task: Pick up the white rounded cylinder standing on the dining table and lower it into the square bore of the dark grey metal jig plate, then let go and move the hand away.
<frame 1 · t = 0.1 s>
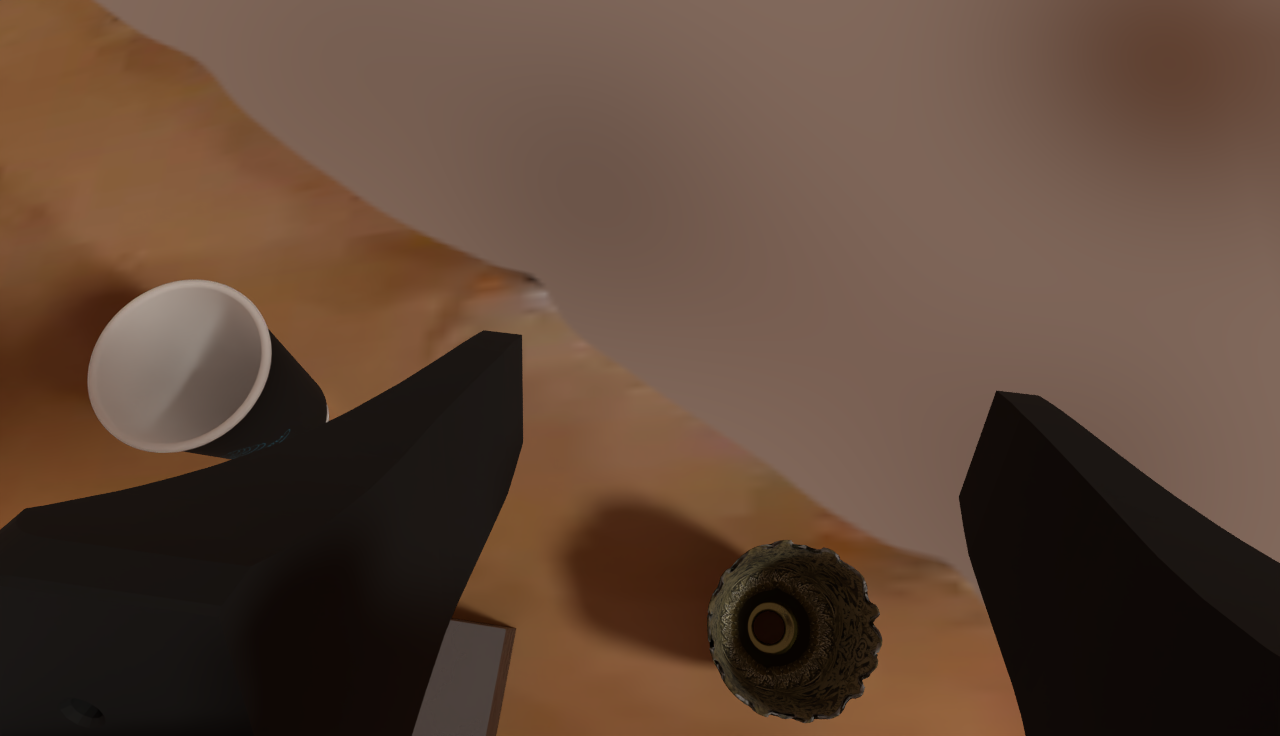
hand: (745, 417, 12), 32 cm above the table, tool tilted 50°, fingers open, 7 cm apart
cup: (768, 627, 42), on the table
dixie cup: (288, 422, 46), on the table
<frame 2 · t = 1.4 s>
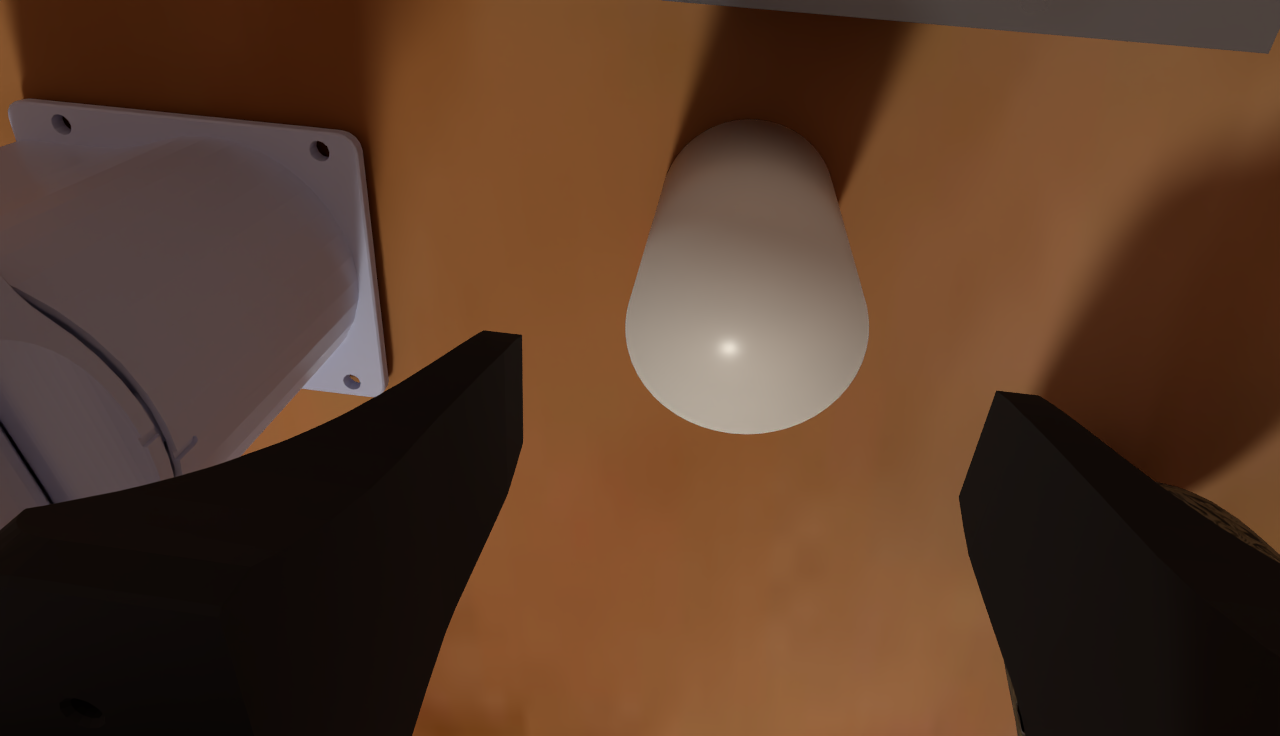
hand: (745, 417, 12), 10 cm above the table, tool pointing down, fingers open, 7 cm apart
white rounded cylinder: (746, 206, 21), on the table
cup: (1075, 496, 24), on the table
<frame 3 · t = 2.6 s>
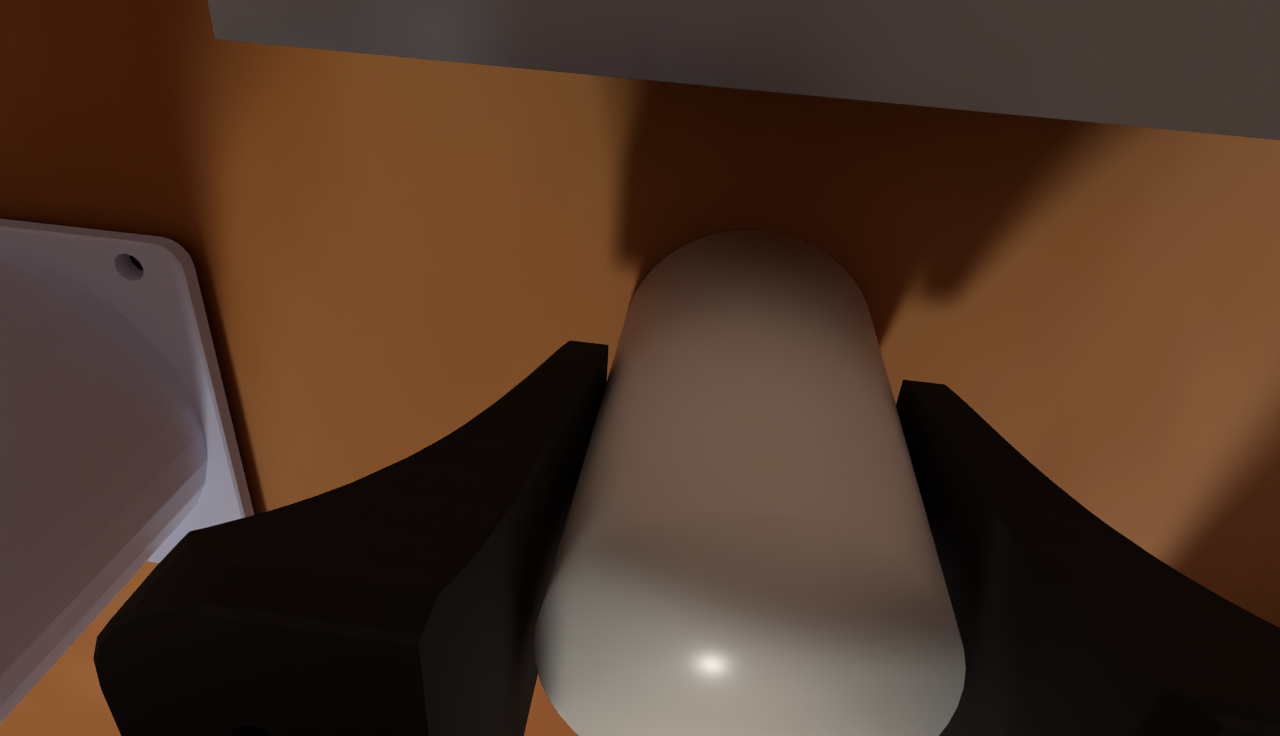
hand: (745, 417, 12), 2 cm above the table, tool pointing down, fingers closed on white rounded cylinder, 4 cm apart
white rounded cylinder: (745, 346, 14), on the table, touching gripper
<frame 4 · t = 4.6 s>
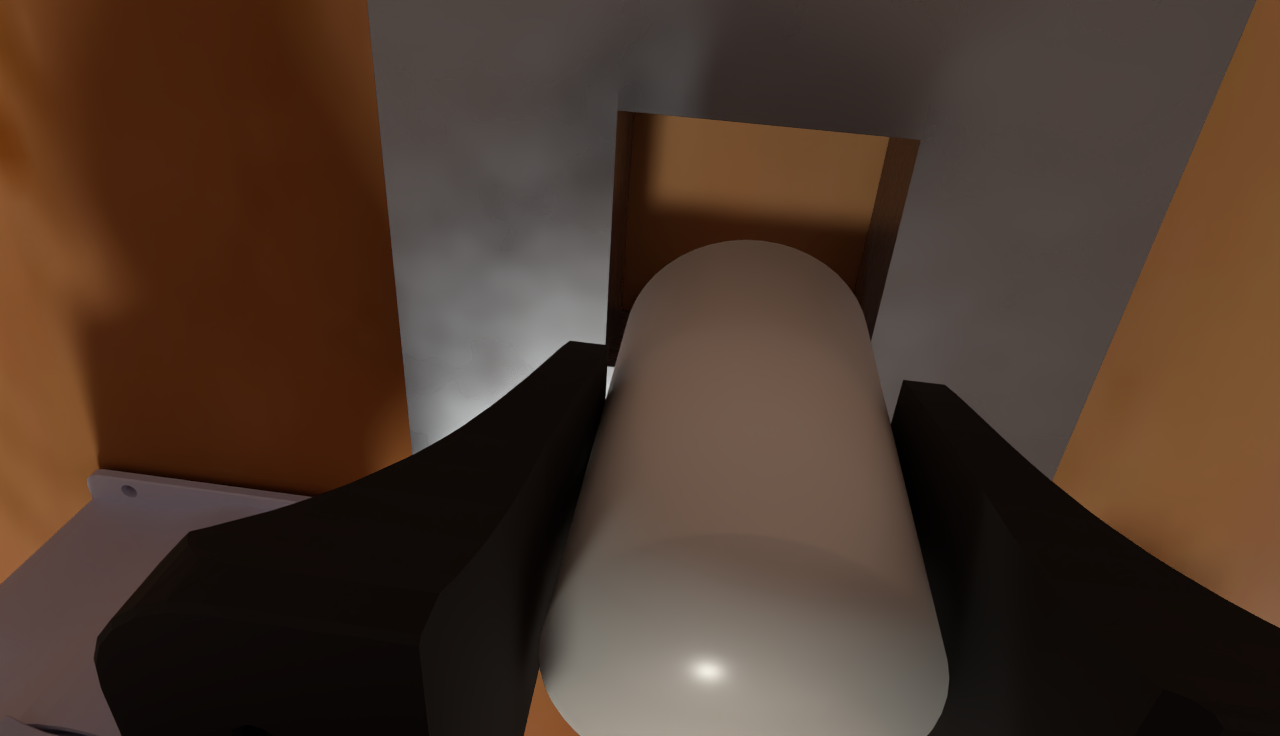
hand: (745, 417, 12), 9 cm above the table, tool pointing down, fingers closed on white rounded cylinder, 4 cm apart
white rounded cylinder: (744, 352, 15), point 6 cm above the table, touching gripper
jig: (747, 216, 20), on the table
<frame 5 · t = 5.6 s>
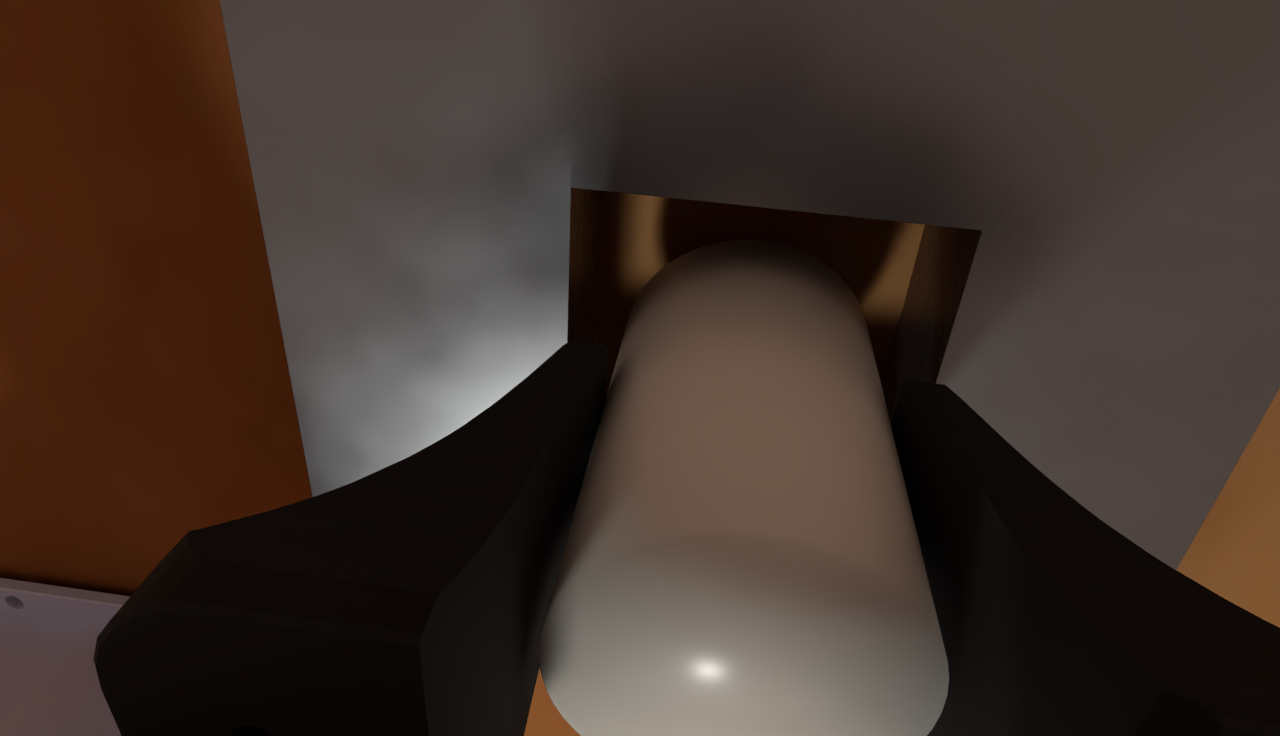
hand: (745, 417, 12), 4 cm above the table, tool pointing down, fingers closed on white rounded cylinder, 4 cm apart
white rounded cylinder: (744, 352, 15), point 2 cm above the table, touching gripper
jig: (746, 302, 16), on the table
when the fingers open (4 cm above the table, at t = 6.5 s): white rounded cylinder drops 1 cm, resting in jig.
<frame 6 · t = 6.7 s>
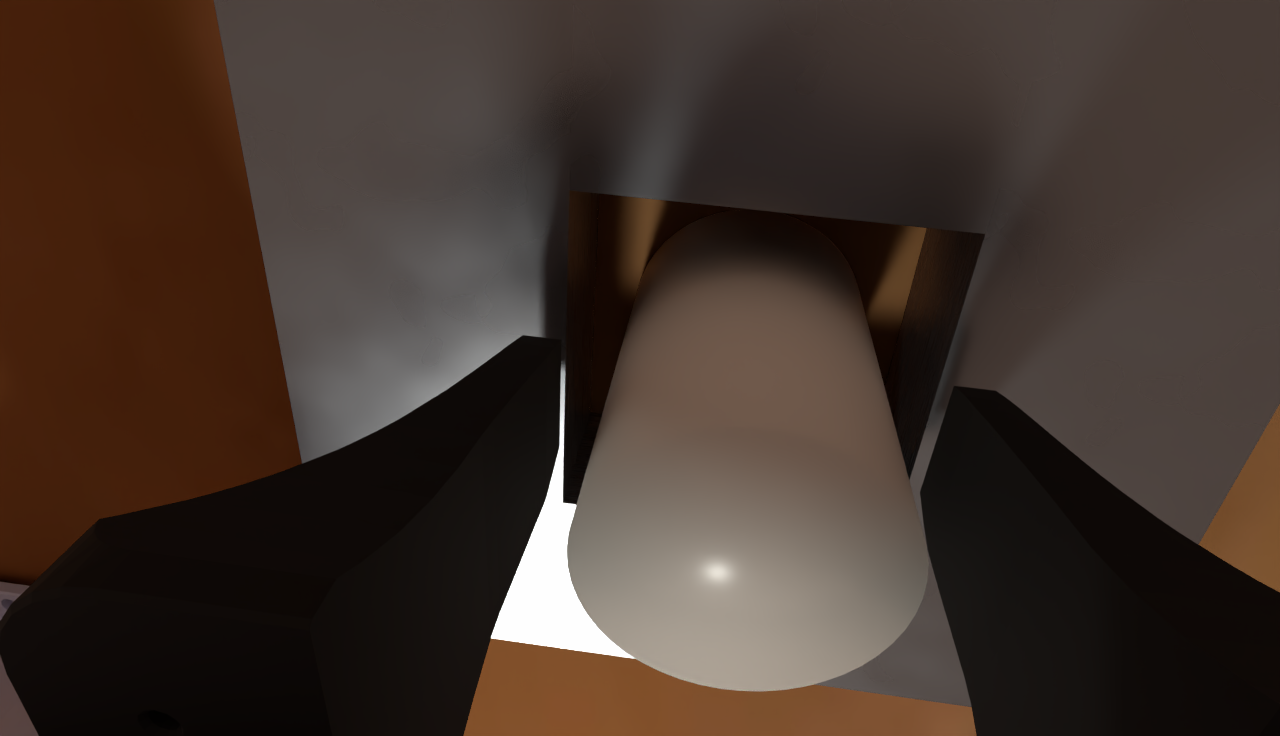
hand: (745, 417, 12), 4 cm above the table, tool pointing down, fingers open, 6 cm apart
white rounded cylinder: (745, 315, 16), resting in jig
jig: (746, 305, 16), on the table
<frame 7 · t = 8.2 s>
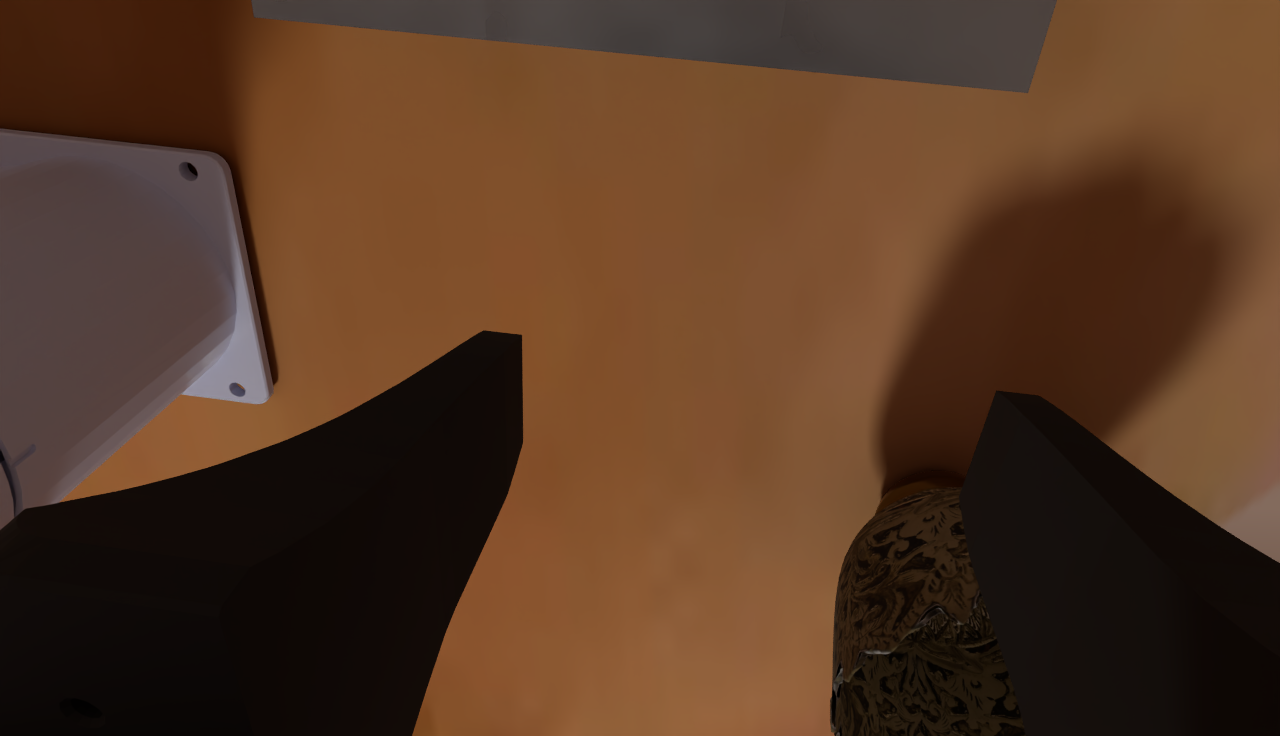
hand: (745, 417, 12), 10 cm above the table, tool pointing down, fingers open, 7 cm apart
cup: (930, 502, 25), on the table
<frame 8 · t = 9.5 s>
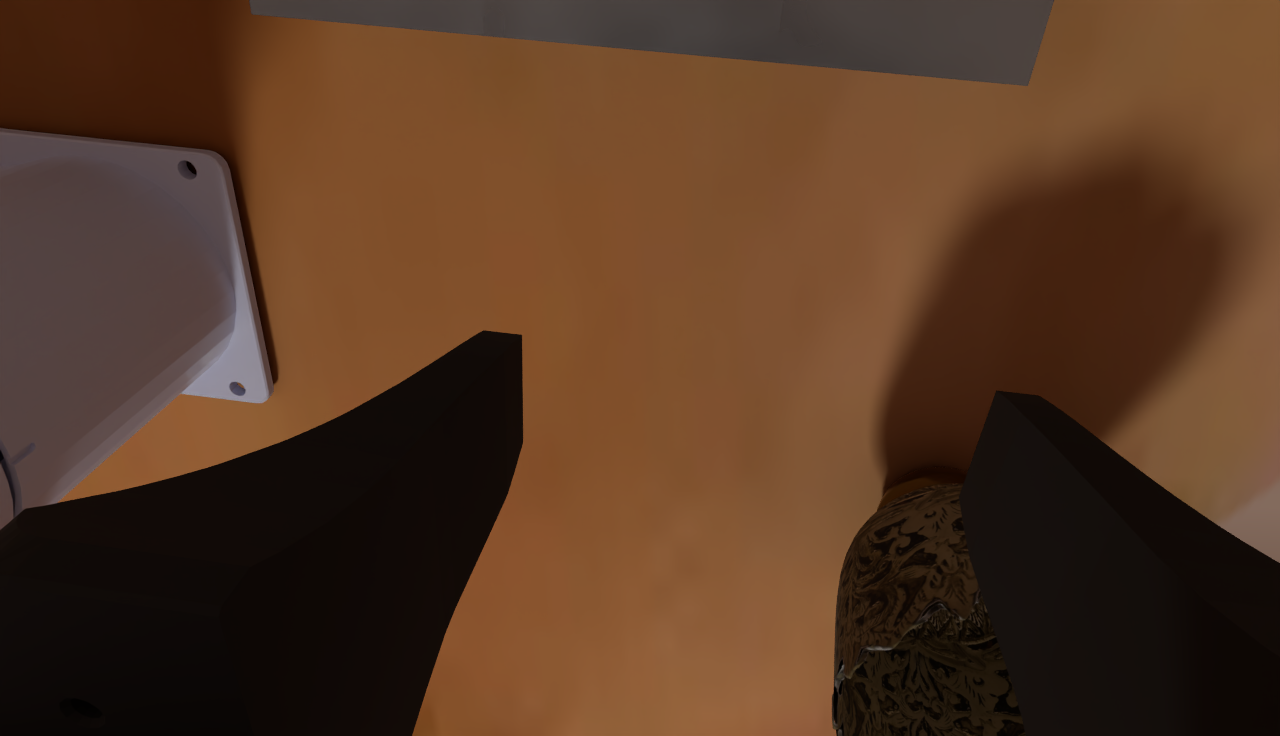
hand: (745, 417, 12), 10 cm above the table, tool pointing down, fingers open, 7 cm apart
cup: (931, 499, 25), on the table
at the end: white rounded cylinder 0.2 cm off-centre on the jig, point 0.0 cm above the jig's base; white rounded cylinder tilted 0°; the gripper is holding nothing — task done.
